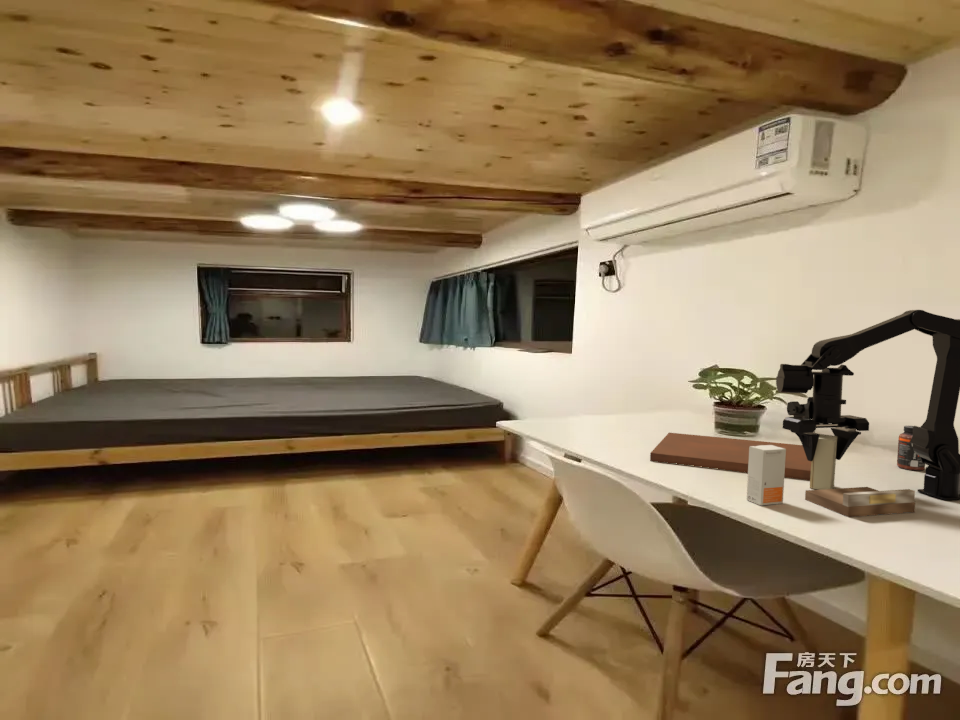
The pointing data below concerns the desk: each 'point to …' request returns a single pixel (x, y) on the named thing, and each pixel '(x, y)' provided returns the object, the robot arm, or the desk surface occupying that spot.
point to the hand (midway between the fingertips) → (823, 460)
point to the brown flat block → (863, 500)
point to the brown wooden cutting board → (725, 453)
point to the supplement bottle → (908, 452)
